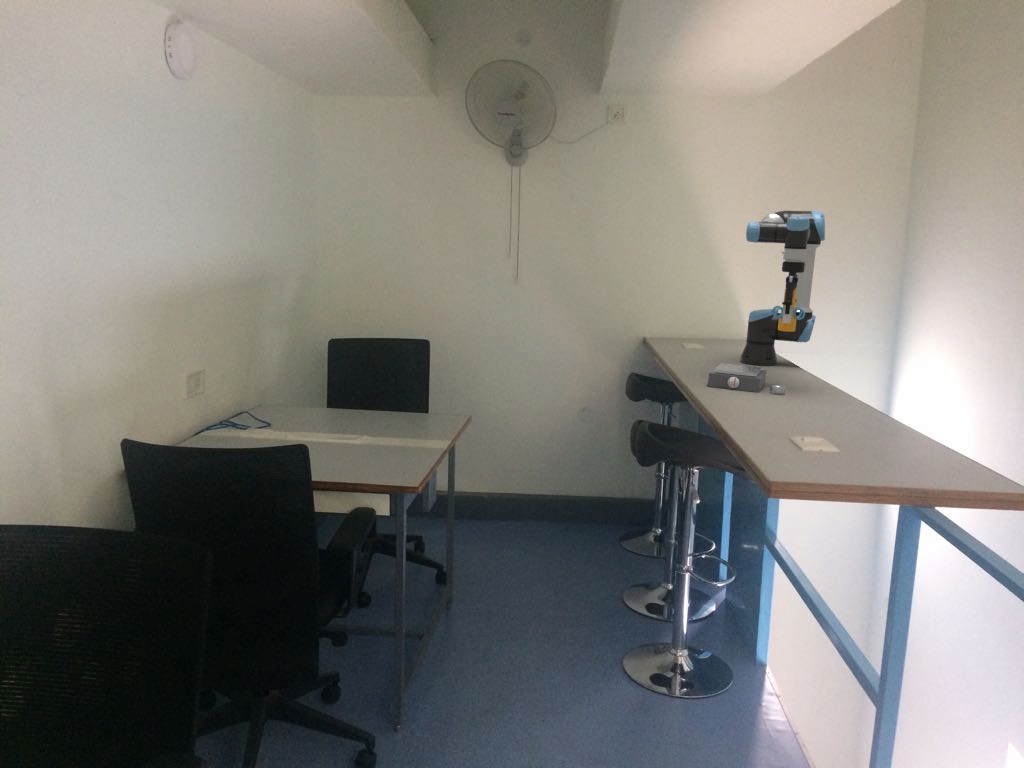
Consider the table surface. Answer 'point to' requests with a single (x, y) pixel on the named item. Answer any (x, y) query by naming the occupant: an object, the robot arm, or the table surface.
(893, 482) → the table surface
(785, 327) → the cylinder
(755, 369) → the pan
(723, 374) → the base
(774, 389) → the cylinder
